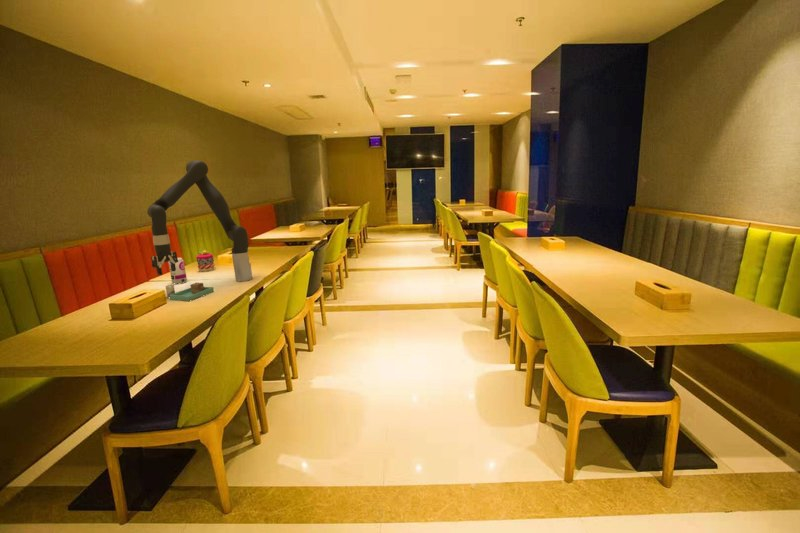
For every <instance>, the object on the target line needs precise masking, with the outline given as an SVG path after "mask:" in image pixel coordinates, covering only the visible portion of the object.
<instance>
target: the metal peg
mask: <svg viewBox="0 0 800 533" xmlns="http://www.w3.org/2000/svg"><path fill="white" fill-rule="evenodd" d="M165 290H166V291H165V292H166V296H167V298H168V297H169V295H171V294H174V293H176V290H175V284H168V285H165Z"/></svg>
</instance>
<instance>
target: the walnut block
mask: <svg viewBox="0 0 800 533" xmlns="http://www.w3.org/2000/svg"><path fill="white" fill-rule="evenodd" d="M189 286H190V288H191V292H192V294H196V293H199V292H201V291H204V287H205V286H204V282H195V283H192V284H191V283H190V285H189Z"/></svg>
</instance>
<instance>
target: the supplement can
mask: <svg viewBox="0 0 800 533" xmlns="http://www.w3.org/2000/svg"><path fill="white" fill-rule="evenodd" d="M177 258H178V262H176V264H175V267H176V271H171V264H170V263H169V262H168V267H169V273H170V277H171V278H170V279H171V283H172V284H173V283H175V284H174V285H178V284H177V283H181V284H184V283H183V282H185V283H186V282H188V278H187V273H186V267H185V260H184V259H183V257H177Z"/></svg>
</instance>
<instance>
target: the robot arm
mask: <svg viewBox="0 0 800 533" xmlns="http://www.w3.org/2000/svg"><path fill="white" fill-rule="evenodd" d="M185 171H186V173H185V174H184V175H183V176H182V177H181V178H180V179H179V180H178V181H176V182H175V183H174V184H172V185H171V186H170V187H169V188H167V190H166V191H165V192H164V193H162V195H161V196H160V197H159V198H158V199H156V200H155V201H154V202H153V203H151V205H149V206H148V209H147V211H146V212H147V213H146V214H147V215H148V216H149V217H150V218H151V224H152V225H151V234H152V242H153V247H154V253H155V254H156V255H155V256H154V255H153V256H152V255H151V257H150V261H151V266H152V268H155V269H156V273H157V275H158V276H162V275H163V270H162V266H163V264H164V263H167V262H169V263H170V264H171V271H176V267H175V264H176V262H178V258H179V257H178V255H177V252H176V251H172V247H171V240H170V236H169V232H168V227H167V212H166V211H167V210H168V209H169V208H171V207H173V206H174V205H175V204H176V203H177V202H178V201H179V200H180V199H181V198H182V196H184V194H185V193H186V192H187V191H188V190H189V189H191V187H193V186H194V185H196V186H197V188H198V189H199V191H200V193H201V195H202V197H203V198H204V200H205V202H206V203H207V205H208V206H209V208H210V209H211V211H212V212H213V214H214V215H215V217H216V218H217V220H218V221H219V222H220V225H221V226H222V228H223V230H224V232H225V235H226V236H227V237H228V239H229V240H231V241H233V243H232V244H233V247H232V248H230V251H231V256H232V263H233V264H232V266H233V270H234V278H235V281H236V282H246V281H251V280H252V279H253V272H252V264H251V263H250V256H249V236H248V235H249V234H248V232H247V230H246V228H245V226H239V225H237V223H235V221H234V220H233V218H232V215H231V211H230V206H229V203H228V202H227V200H226V199H225V197H224V196H223V194H222V193H221V191H220V190H218V188H217V187H216V186H215V185H213V183H212V182H211V180H210V179H209V178H208V176H207V174H208V173H209V167H208V165H207V163H205V162H204V161H202V160H190V161H188V162H187V164H186V166H185ZM169 263H168V264H169Z"/></svg>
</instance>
